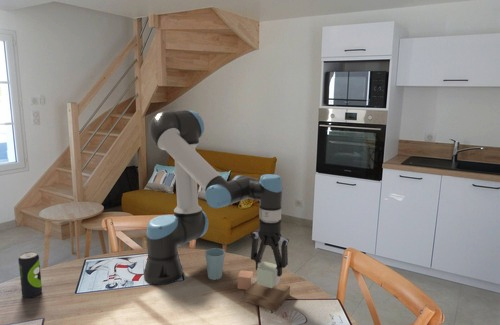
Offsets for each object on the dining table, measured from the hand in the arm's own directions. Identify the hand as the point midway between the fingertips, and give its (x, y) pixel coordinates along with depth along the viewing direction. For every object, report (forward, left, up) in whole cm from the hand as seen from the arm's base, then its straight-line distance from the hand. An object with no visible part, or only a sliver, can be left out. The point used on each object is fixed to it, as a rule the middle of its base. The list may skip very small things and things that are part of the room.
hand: (268, 281), depth 133 cm
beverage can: (-73, -42, -7) cm, 85 cm away
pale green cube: (0, 0, 0) cm, 0 cm away
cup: (-25, +3, -7) cm, 26 cm away
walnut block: (0, 0, -7) cm, 7 cm away
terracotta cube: (-11, +3, -7) cm, 13 cm away
